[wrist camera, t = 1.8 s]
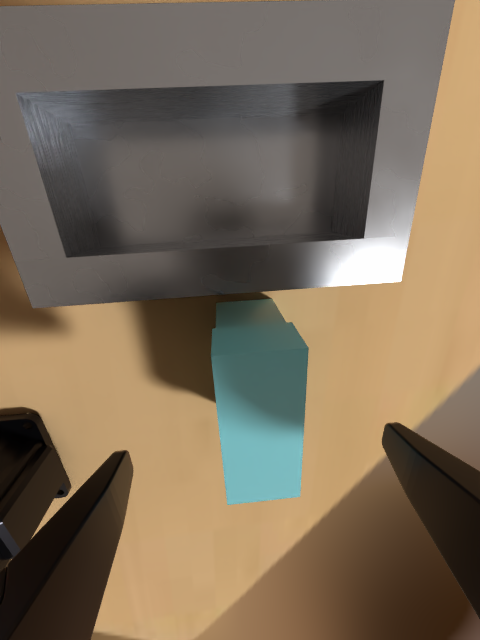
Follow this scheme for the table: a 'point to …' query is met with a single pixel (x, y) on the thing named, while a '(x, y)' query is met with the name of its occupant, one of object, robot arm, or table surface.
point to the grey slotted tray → (213, 144)
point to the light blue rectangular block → (259, 400)
